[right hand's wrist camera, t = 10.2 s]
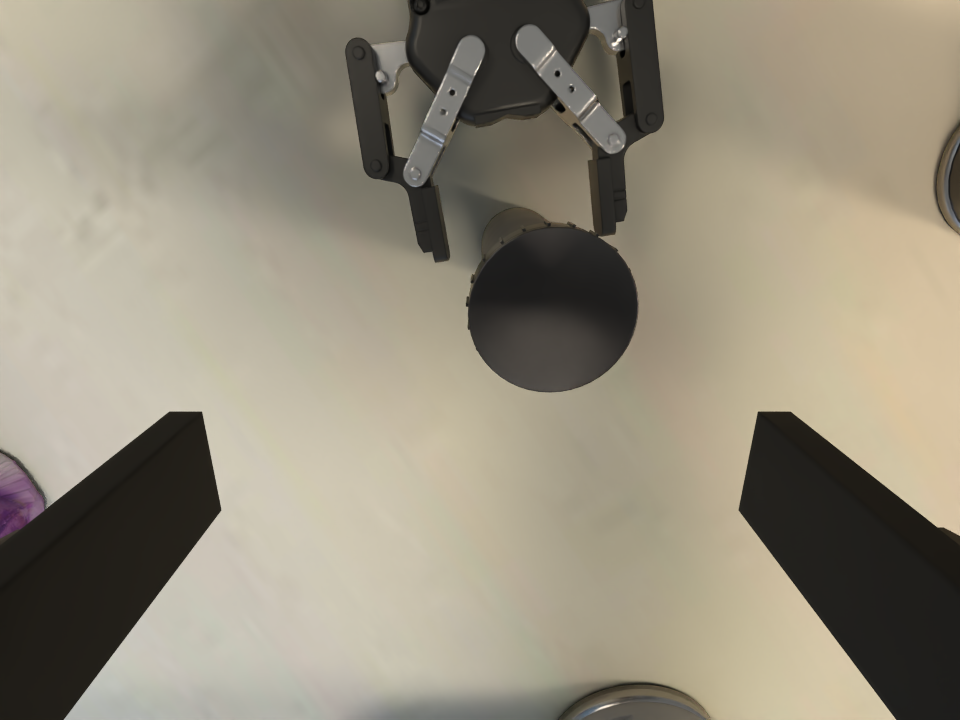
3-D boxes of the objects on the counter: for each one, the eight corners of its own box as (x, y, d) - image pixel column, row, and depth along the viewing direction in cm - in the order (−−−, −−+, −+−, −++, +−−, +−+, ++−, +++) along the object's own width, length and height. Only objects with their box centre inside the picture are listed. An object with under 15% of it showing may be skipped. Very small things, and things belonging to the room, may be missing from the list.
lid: (660, 302, 19) (676, 313, 17) (542, 406, 20) (547, 425, 19) (552, 183, 17) (559, 184, 16) (433, 303, 19) (429, 314, 17)
